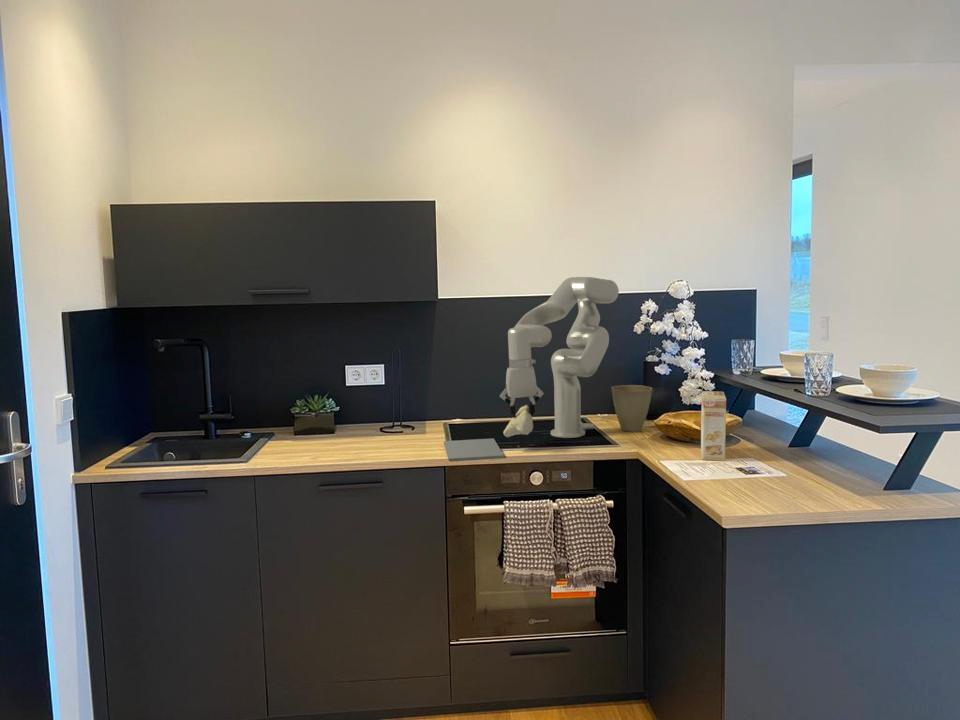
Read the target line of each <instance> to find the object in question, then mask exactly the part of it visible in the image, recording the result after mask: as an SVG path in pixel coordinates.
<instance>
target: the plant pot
mask: <svg viewBox="0 0 960 720" xmlns="http://www.w3.org/2000/svg"><path fill="white" fill-rule="evenodd" d="M610 388H611V394H612V401H613V406H614V409H615V410H614V412H615V415H616V419H617V421H618V424H619V426H620V429H621V430H622V431H623V432H629V433H634V432H635V433H637V432H640V431H642V429H643V427H644V424H645V421H646V419H647V415H648V412H649V409H650V404H651V400H652V399H651V398H652V393H653V387H651V386H647V385H641V384H640V385H638V384H627V385H626V384H625V385H624V384H623V385H622V384H621V385H615V386H611V387H610Z"/></svg>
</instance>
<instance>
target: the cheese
mask: <svg viewBox="0 0 960 720" xmlns="http://www.w3.org/2000/svg"><path fill="white" fill-rule="evenodd" d="M518 409H519V410H518V411H517V412H516V413H515V418H513V417H512V418H511V420H510V421H509V422H508V424H507V425H506V427H505V429H504V430H503V436H504V437H506V438H510V437H513V436H515V435H516V436H517V435H523V436H524V435H526V436H528V435H530V433H531V432H533V429H534V422H533V420H534V419H533V416H531V414H529V404H525V405H524V406H521V407H520V408H518Z"/></svg>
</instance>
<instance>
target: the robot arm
mask: <svg viewBox="0 0 960 720" xmlns="http://www.w3.org/2000/svg"><path fill="white" fill-rule="evenodd" d="M619 293H620V292H619V286H618V285H617V283H616V282H615V281H614V280H611V279H606V278H597V277H593V276H592V277H591V276H576V277H575V276H572V277H568V278H565V280H564V281H562V282H561V284H560V285H558V287H557V288H556V289H555V291H554V293H553V294H552V295H551V296H550V297H549V298H548V299H547V301H545V302H543V303H541V304H539V305H538V306H535V308H533V309H531V310H529V311H527V312H526V313H525V314H524V315H523V316H522V317H521V318H520V319H519V321H518V322H517V323H516V324H515V325H514V327H511V328H509V329H508V331H507V343H508V365H509V366H508V367H507V369H506V374H505V375H506V376H505V388H504V389H503V390H502V392H501V393H500V394H499V398H500V399H502V400H503V401H505V402H506V403H507V404H508V405H509V414H510V416H512V418H515V415H516V406H515V401H516V399H517V398H528V399H529V404H528V407H529V411H528V413H529V414H531V416H532V417H534V414H535V413H536V412H535V411H536V410H535V409H536V408H535V405H536V403H537V402H538V401H539V400H540V399H541V397H543V395H544V392H543V391H542V390H541V389H540V388H539V387H538V385H537V378H536V373H535V369H534V366H533V365H534V364H536V363H537V361H536V360H537V359H533V358H532V348H536V347H537V348H542V347H545V346H547V345H548V344H549V343H550V342H551V340H552V337H553V336H552V331H551V329H550V328H549V327H547V326H546V325H548V324H550V323H554V322H557V321H560V320H562V319H564V318H565V317H566V316H567V315H569V313H570V311H571V310H572V309H573V307H575V305H577V307H578V314H577V316H576V318H575V320H574V322H573V324H572V326H571V328H570V329H569V332H568V333H567V337H566V340H565V341H566V344H567V347H568V348H560V349H557V350H556V351H554V353H553V354H552V356H551V358H550V365H551V372H552V374H553V386H554V387H553V388H554V389H553V390H554V393H553V396H554V397H553V398H554V403H553V404H554V429H551V430H550V436H552V437H555V438H562V439H573V438H580V437H583V436H586V431H585V430H593V429H595V425H594V423H589V422H585V423H583V421H582V419H581V415H582V413H581V411H582V409H581V394H582V393H581V392H582V391H581V384H580V381H579V379H578V377H581V378H589V377H591V376H593V375H594V374H595V373H596V372H597V371H598V368H599V366H600V364H601V362H602V360H603V358H604V356H605V353H606V352H607V349H608V347H609V343H610V335H609V332H608V330H607V329H606V328H604V327H603V326H600V321H601V315H600V312H599V310H598V308H597V306H596V305H597V304H611V303H614V302H615V301H616V300H617V298H618V297H619ZM506 395H507V396H508V397H509V398H508V397H506Z"/></svg>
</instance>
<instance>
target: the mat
mask: <svg viewBox="0 0 960 720" xmlns="http://www.w3.org/2000/svg"><path fill="white" fill-rule="evenodd" d="M443 446H444V448H445V453H446V455H447V456H446V457H447V460H448V461H449V462H453V461H455V462H456V461H457V462H458V461H471V460H473V461H474V460H487V459H488V460H489V459H491V460H493V459H504V458H505V455H504V453H503V451H502V449H501V448H500V446H499V445H498V443H497V442H496V440H495V438H477V439H475V438H474V439H462V440H444V441H443Z"/></svg>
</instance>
